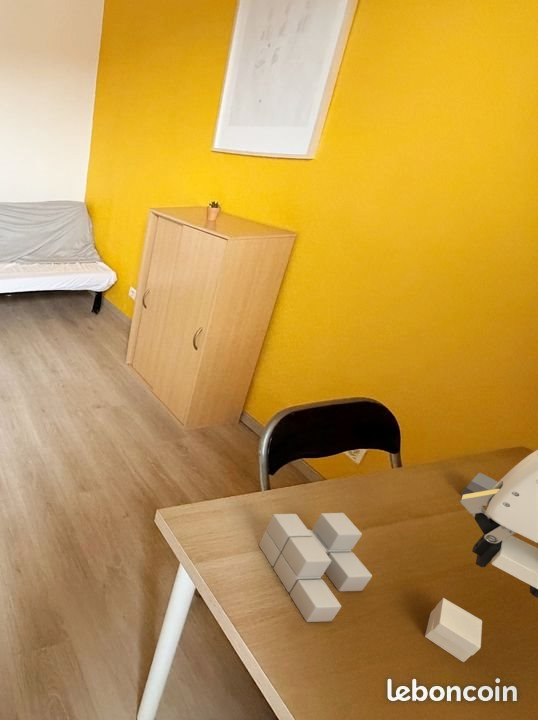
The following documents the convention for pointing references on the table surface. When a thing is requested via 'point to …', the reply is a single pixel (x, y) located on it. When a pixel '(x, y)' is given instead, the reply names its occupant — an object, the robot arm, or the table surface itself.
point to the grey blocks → (479, 484)
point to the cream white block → (518, 560)
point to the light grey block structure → (315, 561)
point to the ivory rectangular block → (454, 630)
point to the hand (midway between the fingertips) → (507, 572)
